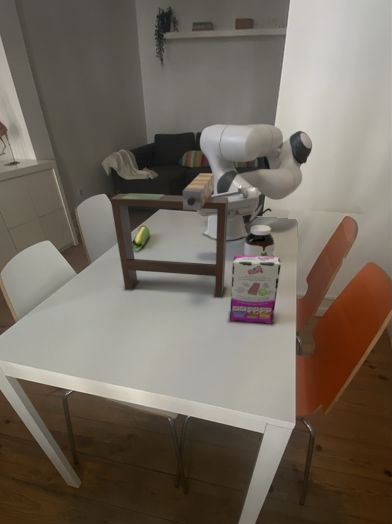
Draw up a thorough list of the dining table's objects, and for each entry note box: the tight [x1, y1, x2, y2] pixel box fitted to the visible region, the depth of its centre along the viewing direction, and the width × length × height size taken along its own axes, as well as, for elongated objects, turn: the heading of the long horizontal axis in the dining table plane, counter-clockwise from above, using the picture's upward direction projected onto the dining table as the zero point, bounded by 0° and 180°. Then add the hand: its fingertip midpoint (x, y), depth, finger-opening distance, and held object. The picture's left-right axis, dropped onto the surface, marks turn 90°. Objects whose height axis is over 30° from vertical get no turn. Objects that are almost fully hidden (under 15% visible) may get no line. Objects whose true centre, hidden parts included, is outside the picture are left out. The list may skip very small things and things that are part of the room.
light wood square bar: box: [182, 172, 214, 211], centre depth 80 cm, size 23×4×4 cm, turn 170°
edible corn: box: [132, 225, 151, 252], centre depth 129 cm, size 5×20×5 cm, turn 177°
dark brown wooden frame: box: [110, 192, 228, 298], centre depth 90 cm, size 6×30×26 cm, turn 79°
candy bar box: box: [229, 254, 282, 325], centre depth 80 cm, size 11×5×16 cm, turn 82°
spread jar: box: [243, 224, 276, 256], centre depth 113 cm, size 12×11×12 cm
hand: (224, 190), depth 95 cm, fingers open, 8 cm apart
